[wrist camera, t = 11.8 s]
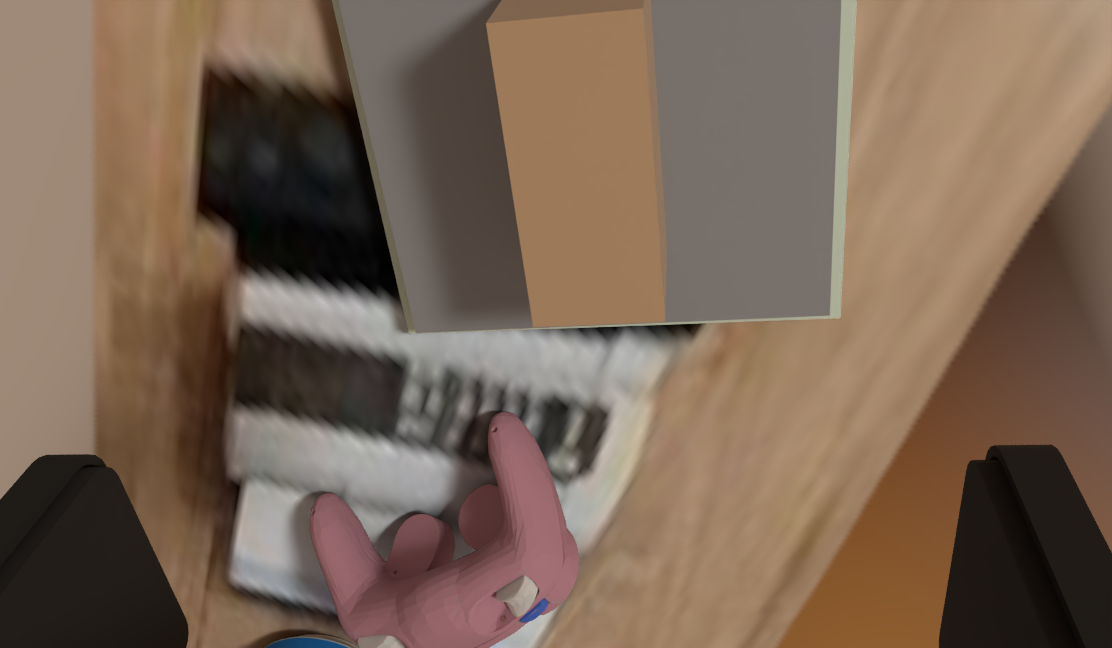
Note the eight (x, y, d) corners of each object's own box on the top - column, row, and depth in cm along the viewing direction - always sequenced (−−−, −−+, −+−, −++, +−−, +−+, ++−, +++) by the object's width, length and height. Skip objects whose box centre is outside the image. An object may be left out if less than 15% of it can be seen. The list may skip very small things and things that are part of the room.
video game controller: (378, 525, 39) (384, 698, 35) (298, 493, 36) (295, 680, 32) (577, 439, 36) (609, 621, 32) (508, 394, 32) (534, 591, 28)
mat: (308, -125, 25) (303, -124, 24) (863, -191, 22) (866, -190, 22) (411, 327, 32) (408, 334, 31) (838, 311, 30) (840, 318, 29)
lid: (324, -105, 24) (254, -74, 20) (842, -168, 22) (877, -147, 18) (421, 320, 31) (382, 407, 27) (826, 302, 29) (849, 393, 25)
